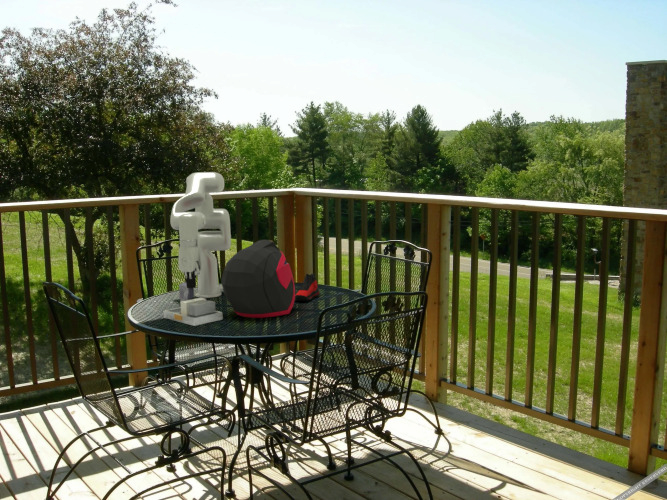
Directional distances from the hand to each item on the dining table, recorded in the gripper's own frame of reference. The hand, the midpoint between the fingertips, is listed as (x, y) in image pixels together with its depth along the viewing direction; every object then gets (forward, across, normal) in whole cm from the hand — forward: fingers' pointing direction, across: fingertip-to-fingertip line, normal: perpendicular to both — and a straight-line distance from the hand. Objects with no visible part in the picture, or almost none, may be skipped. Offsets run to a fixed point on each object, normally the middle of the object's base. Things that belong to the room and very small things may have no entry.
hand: (191, 287), depth 268 cm
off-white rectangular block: (+13, 0, +1) cm, 13 cm away
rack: (+13, 0, 0) cm, 13 cm away
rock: (+13, -24, +13) cm, 30 cm away
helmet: (+13, +14, +24) cm, 31 cm away
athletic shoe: (+13, +9, +58) cm, 60 cm away
